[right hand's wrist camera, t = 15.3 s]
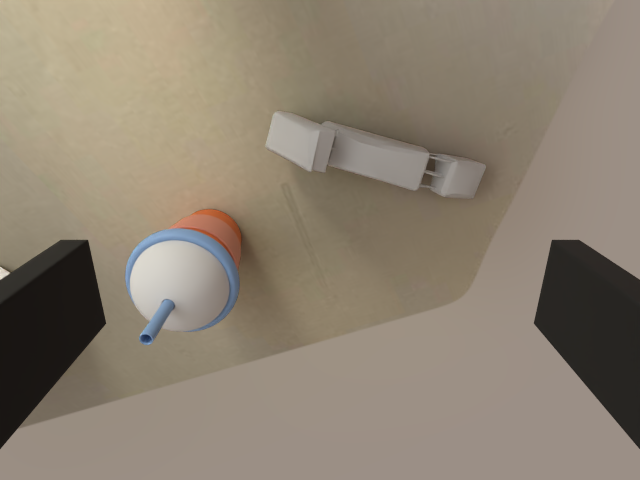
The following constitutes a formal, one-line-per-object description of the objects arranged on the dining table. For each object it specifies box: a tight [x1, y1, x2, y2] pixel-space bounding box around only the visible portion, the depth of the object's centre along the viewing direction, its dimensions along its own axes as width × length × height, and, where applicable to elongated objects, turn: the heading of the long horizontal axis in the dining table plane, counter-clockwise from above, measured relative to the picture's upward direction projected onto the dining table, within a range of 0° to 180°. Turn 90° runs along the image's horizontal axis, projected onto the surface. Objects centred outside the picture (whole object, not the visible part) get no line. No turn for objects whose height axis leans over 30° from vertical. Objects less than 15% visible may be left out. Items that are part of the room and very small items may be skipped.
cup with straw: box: [125, 209, 241, 345], centre depth 36 cm, size 9×9×18 cm
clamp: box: [266, 111, 486, 199], centre depth 38 cm, size 20×4×7 cm, turn 76°
